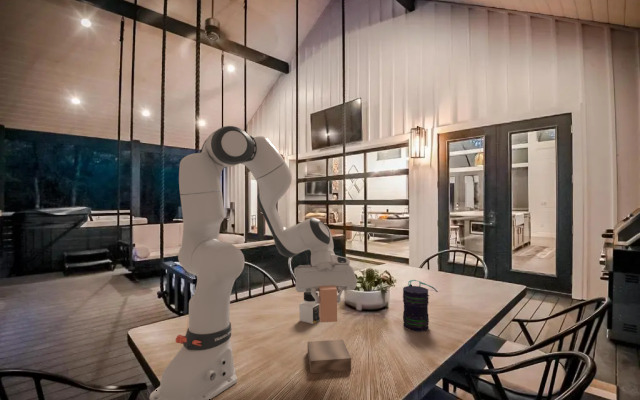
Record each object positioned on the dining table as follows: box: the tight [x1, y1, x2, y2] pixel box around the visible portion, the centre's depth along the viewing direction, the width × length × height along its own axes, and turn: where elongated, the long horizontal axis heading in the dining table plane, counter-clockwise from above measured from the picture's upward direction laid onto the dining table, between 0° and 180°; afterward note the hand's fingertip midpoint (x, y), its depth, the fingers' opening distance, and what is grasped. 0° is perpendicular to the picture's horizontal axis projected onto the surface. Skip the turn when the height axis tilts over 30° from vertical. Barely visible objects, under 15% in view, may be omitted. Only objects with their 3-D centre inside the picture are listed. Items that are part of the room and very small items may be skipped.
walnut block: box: [307, 339, 352, 374], centre depth 91 cm, size 12×12×4 cm
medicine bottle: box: [298, 291, 320, 325], centre depth 123 cm, size 7×7×12 cm
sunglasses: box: [407, 279, 439, 297], centre depth 164 cm, size 14×15×5 cm
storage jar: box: [402, 285, 430, 333], centre depth 116 cm, size 10×10×15 cm
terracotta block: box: [318, 285, 338, 323], centre depth 91 cm, size 5×5×10 cm
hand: (328, 302), depth 90 cm, fingers closed on terracotta block, 5 cm apart
